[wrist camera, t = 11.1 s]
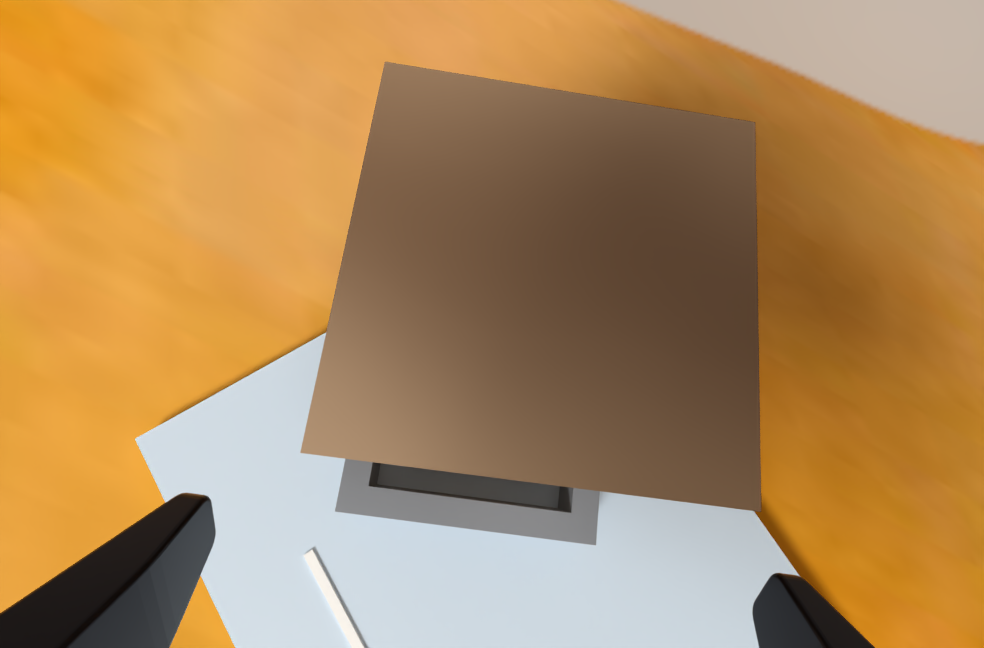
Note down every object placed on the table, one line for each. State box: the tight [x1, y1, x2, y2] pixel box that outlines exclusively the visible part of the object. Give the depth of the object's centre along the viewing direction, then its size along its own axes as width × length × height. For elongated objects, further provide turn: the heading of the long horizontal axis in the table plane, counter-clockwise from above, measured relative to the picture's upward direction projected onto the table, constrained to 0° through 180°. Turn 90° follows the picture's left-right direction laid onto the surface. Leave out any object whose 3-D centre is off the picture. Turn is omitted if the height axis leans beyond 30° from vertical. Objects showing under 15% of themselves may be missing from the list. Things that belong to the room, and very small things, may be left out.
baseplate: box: [135, 333, 799, 648], centre depth 16 cm, size 24×16×3 cm, turn 33°
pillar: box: [300, 62, 761, 512], centre depth 12 cm, size 4×4×13 cm
